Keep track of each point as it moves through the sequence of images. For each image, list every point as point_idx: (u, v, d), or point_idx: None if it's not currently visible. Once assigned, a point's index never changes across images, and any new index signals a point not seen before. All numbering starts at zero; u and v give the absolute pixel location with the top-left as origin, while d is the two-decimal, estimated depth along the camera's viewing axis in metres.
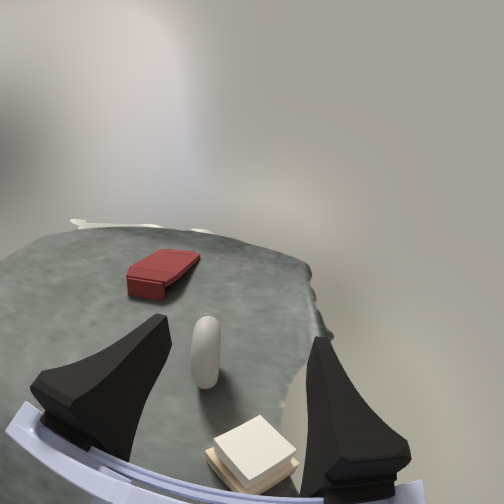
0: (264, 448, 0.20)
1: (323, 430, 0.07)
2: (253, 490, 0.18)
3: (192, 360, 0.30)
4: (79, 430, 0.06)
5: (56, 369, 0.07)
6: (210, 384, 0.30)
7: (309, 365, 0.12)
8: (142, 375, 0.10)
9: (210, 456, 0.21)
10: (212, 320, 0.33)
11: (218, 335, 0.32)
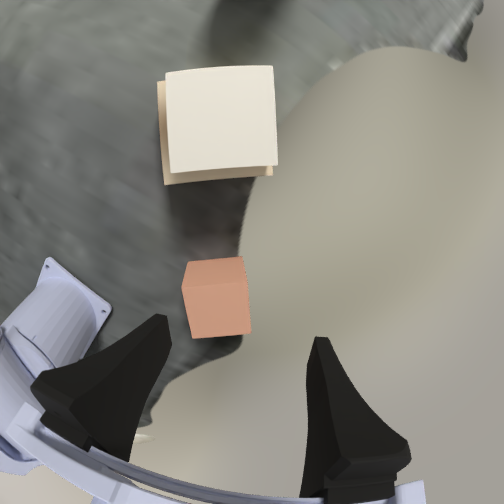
0: (232, 128, 0.13)
1: (323, 430, 0.07)
2: (182, 177, 0.16)
3: None
4: (79, 430, 0.06)
5: (56, 369, 0.07)
6: None
7: (309, 365, 0.12)
8: (142, 375, 0.10)
9: (159, 94, 0.14)
10: None
11: None
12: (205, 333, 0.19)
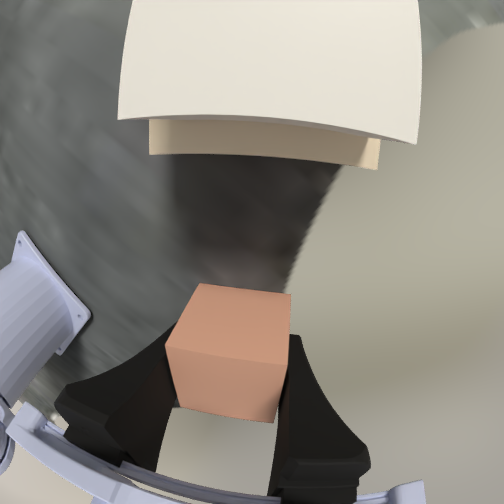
0: (299, 15, 0.03)
1: (284, 428, 0.07)
2: (184, 143, 0.08)
3: None
4: (110, 445, 0.06)
5: (82, 382, 0.07)
6: None
7: None
8: (170, 383, 0.10)
9: None
10: None
11: None
12: (200, 407, 0.11)
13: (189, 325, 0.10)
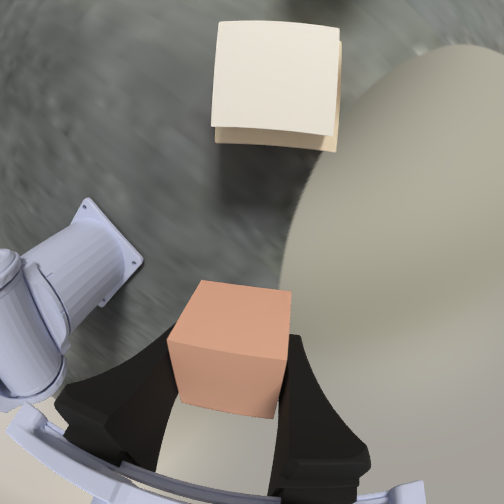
0: (286, 87, 0.10)
1: (284, 428, 0.07)
2: (235, 138, 0.15)
3: None
4: (110, 445, 0.06)
5: (82, 382, 0.07)
6: None
7: None
8: (169, 383, 0.10)
9: None
10: None
11: None
12: (201, 403, 0.11)
13: (191, 321, 0.10)
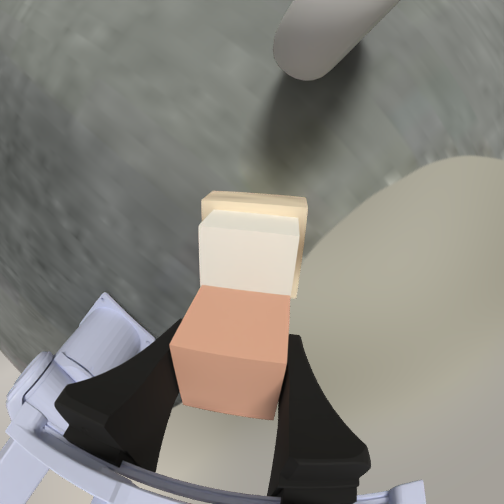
0: (253, 286, 0.16)
1: (284, 428, 0.07)
2: None
3: (278, 30, 0.09)
4: (110, 445, 0.06)
5: (82, 382, 0.07)
6: (301, 79, 0.13)
7: None
8: (170, 383, 0.10)
9: (203, 212, 0.18)
10: None
11: (374, 16, 0.07)
12: (203, 405, 0.11)
13: (192, 325, 0.11)
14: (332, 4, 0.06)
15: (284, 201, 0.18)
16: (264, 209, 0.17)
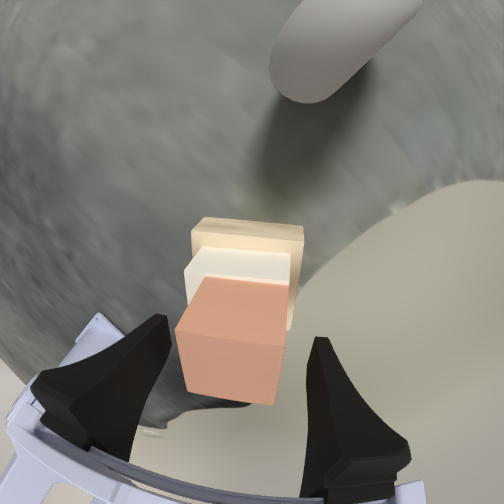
0: None
1: (323, 430, 0.07)
2: None
3: (275, 47, 0.08)
4: (79, 430, 0.06)
5: (56, 369, 0.07)
6: None
7: (309, 365, 0.12)
8: (142, 375, 0.10)
9: (194, 243, 0.17)
10: None
11: (391, 34, 0.06)
12: (206, 391, 0.12)
13: (196, 312, 0.11)
14: (341, 19, 0.05)
15: (279, 232, 0.17)
16: (257, 243, 0.17)
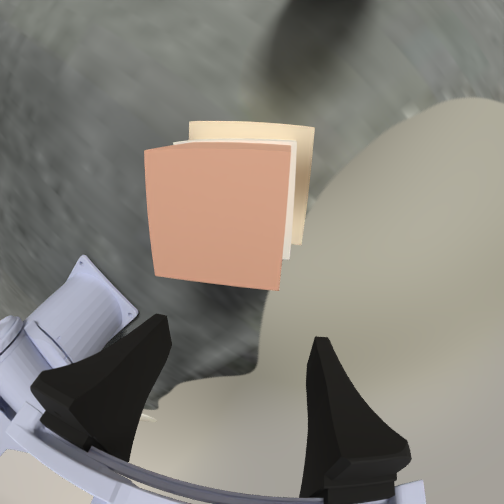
0: None
1: (323, 430, 0.07)
2: None
3: None
4: (79, 430, 0.06)
5: (56, 369, 0.07)
6: None
7: (309, 365, 0.12)
8: (142, 375, 0.10)
9: (191, 136, 0.14)
10: None
11: None
12: (180, 269, 0.09)
13: (176, 146, 0.09)
14: None
15: None
16: (263, 129, 0.14)
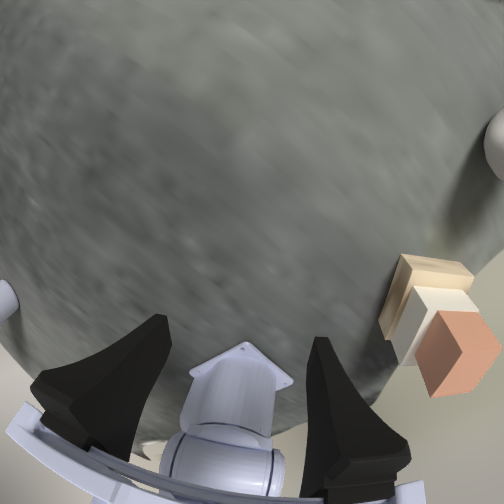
0: None
1: (323, 430, 0.07)
2: None
3: None
4: (79, 430, 0.06)
5: (56, 369, 0.07)
6: (501, 179, 0.13)
7: (309, 365, 0.12)
8: (142, 375, 0.10)
9: (410, 279, 0.18)
10: None
11: None
12: (443, 393, 0.13)
13: (460, 338, 0.12)
14: None
15: (457, 269, 0.18)
16: (451, 278, 0.17)
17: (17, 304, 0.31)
